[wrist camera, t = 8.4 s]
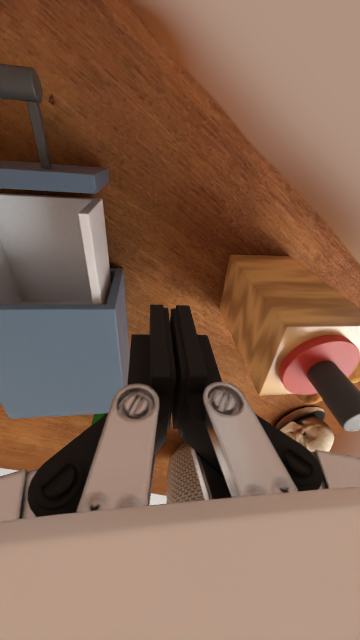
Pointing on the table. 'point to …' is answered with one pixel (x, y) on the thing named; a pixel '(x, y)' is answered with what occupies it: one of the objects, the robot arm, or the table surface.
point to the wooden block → (280, 313)
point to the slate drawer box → (64, 355)
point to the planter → (183, 477)
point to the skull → (308, 428)
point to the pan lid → (326, 375)
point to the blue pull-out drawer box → (49, 218)
